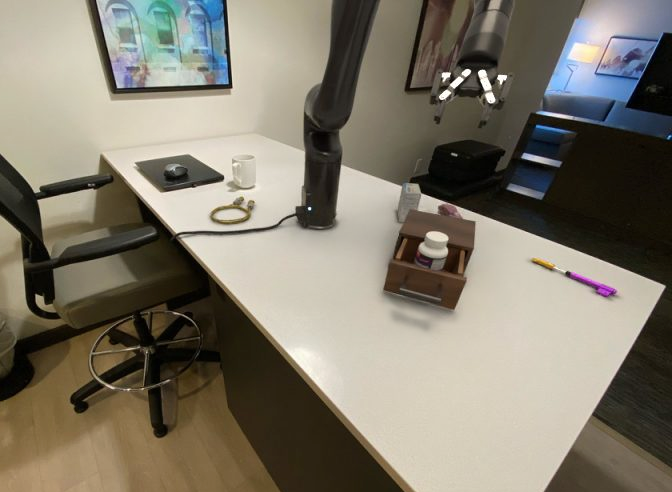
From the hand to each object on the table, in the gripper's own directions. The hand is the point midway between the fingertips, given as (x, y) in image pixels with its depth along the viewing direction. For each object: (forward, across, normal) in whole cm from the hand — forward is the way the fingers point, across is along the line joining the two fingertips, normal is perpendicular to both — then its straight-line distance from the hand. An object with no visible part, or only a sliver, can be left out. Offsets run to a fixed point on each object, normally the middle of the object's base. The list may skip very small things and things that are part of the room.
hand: (458, 123), depth 63 cm
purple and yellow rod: (+18, +31, +22) cm, 42 cm away
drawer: (+32, +2, +7) cm, 33 cm away
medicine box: (+7, -7, +33) cm, 35 cm away
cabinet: (+22, +2, +18) cm, 29 cm away
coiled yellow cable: (+22, -52, +19) cm, 60 cm away
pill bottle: (+29, +2, +8) cm, 31 cm away
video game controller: (+7, +5, +33) cm, 35 cm away
